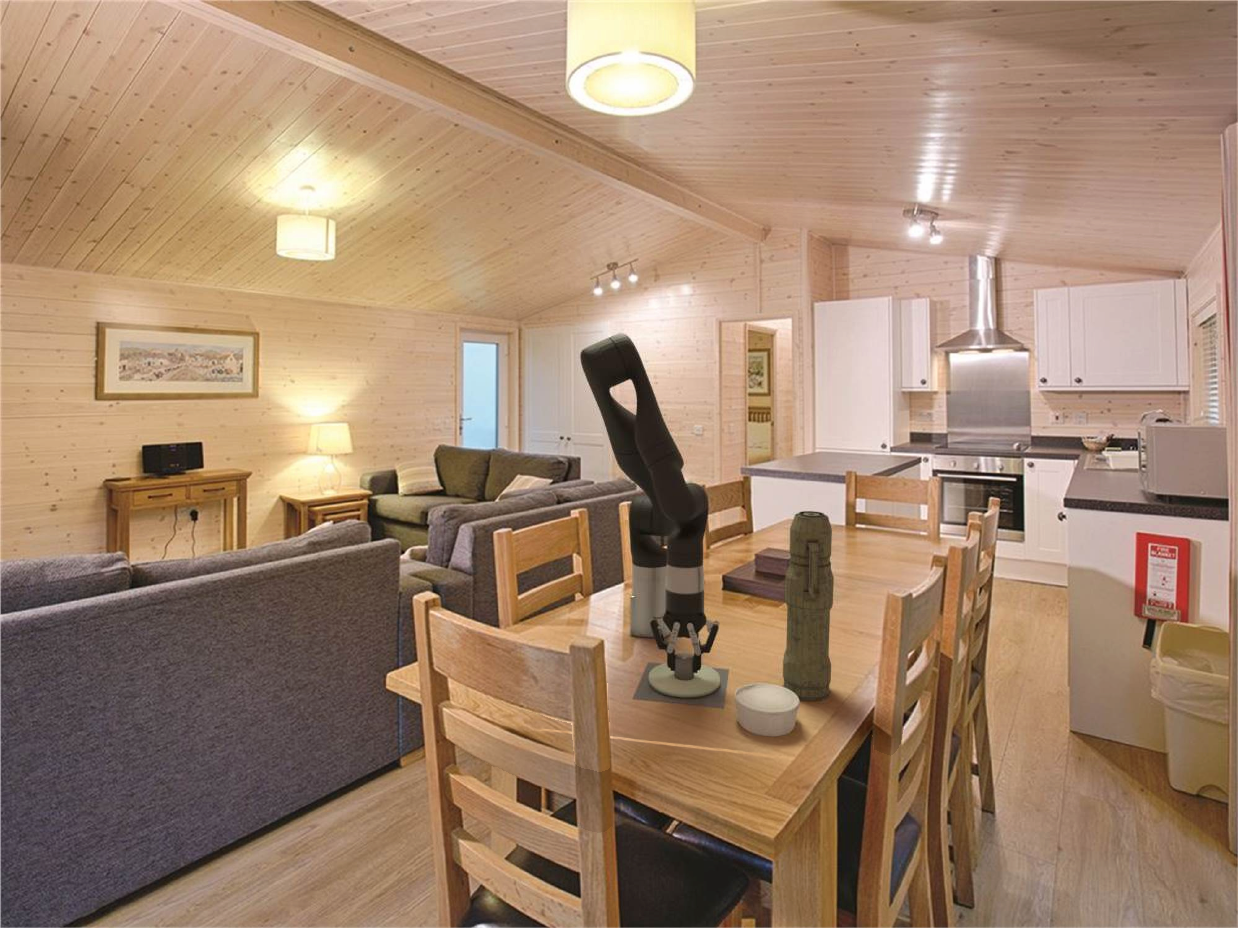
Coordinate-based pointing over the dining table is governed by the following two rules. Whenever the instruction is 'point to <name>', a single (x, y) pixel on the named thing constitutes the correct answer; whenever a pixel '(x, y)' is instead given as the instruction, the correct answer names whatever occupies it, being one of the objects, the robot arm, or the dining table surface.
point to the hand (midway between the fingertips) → (684, 669)
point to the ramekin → (766, 709)
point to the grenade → (809, 607)
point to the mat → (710, 700)
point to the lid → (684, 678)
